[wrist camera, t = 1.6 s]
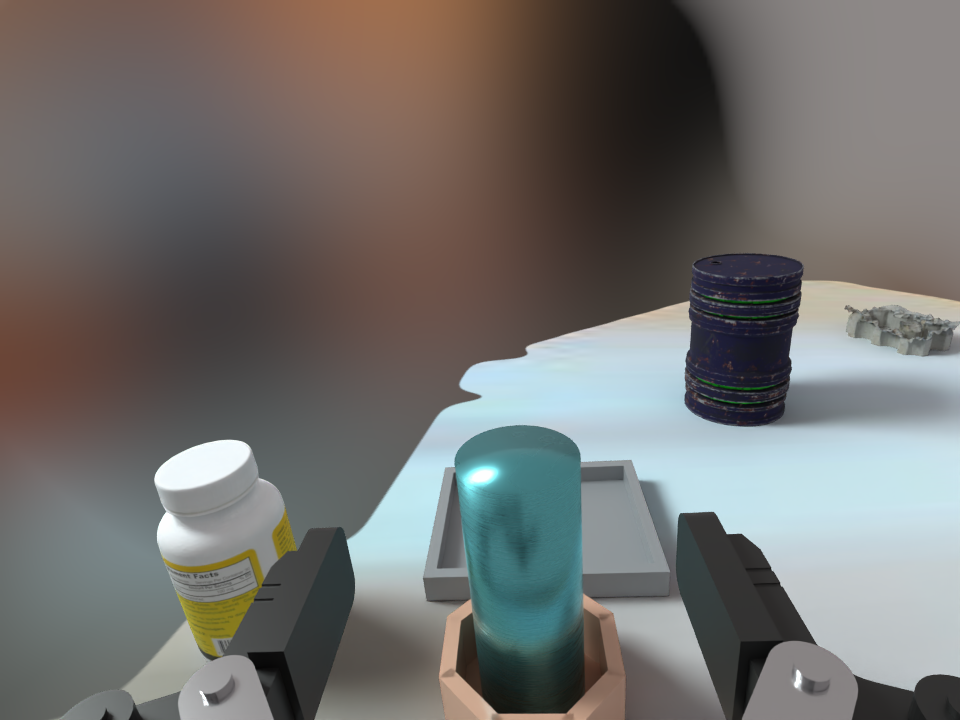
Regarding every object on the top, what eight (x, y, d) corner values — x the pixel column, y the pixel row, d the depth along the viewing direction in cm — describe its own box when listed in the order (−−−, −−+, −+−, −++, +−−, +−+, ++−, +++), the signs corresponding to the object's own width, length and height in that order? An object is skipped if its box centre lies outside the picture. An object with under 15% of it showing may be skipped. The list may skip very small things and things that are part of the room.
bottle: (479, 742, 29) (448, 496, 23) (484, 647, 34) (460, 428, 28) (591, 742, 28) (587, 491, 22) (579, 646, 33) (574, 422, 28)
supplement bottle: (268, 574, 42) (224, 421, 37) (335, 611, 38) (295, 446, 33) (177, 645, 36) (111, 478, 32) (244, 696, 33) (180, 515, 28)
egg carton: (835, 333, 75) (840, 304, 74) (880, 324, 77) (886, 295, 75) (911, 361, 66) (918, 328, 64) (961, 350, 67) (969, 318, 66)
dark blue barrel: (796, 396, 60) (816, 256, 54) (771, 436, 53) (791, 282, 48) (701, 377, 66) (710, 250, 60) (668, 411, 59) (675, 272, 54)
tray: (426, 600, 38) (423, 577, 37) (447, 486, 50) (445, 467, 49) (668, 595, 37) (670, 571, 36) (631, 479, 49) (631, 460, 48)
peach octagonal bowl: (438, 788, 27) (428, 733, 26) (457, 628, 36) (450, 579, 34) (637, 790, 26) (639, 733, 25) (607, 625, 35) (607, 575, 34)
